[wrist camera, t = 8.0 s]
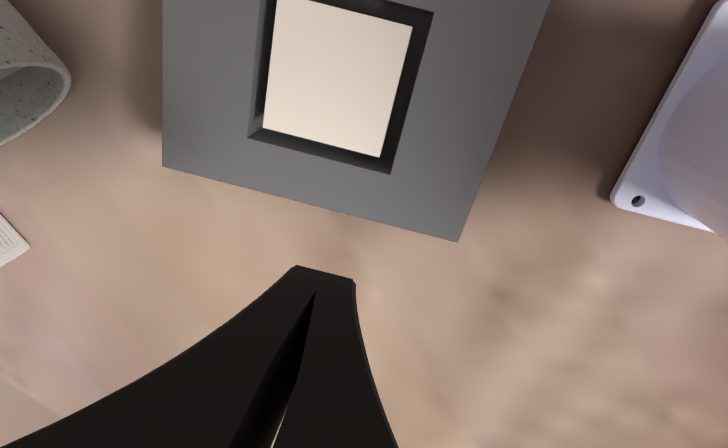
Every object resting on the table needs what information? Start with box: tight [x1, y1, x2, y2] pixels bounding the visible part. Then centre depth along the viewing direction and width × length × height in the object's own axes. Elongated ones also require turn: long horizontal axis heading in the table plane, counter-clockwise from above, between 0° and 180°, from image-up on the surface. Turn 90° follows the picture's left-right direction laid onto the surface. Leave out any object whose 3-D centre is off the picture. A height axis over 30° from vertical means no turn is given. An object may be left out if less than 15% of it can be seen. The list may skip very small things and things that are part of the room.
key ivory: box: [263, 0, 413, 157], centre depth 15 cm, size 4×4×2 cm
